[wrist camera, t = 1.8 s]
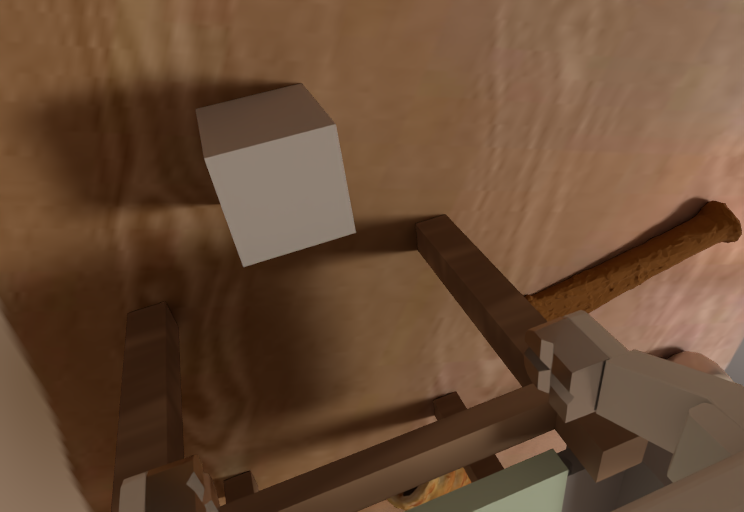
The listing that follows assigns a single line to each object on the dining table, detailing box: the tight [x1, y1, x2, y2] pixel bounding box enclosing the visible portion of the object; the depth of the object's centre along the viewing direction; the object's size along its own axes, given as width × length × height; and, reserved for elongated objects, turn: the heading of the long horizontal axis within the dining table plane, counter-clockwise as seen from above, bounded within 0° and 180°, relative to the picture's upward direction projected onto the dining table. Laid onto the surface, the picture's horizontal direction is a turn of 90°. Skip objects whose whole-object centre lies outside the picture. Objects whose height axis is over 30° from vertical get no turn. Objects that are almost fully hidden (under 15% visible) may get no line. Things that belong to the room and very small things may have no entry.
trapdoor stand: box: [111, 214, 648, 512], centre depth 28 cm, size 19×19×16 cm
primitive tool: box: [525, 201, 742, 322], centre depth 38 cm, size 19×6×4 cm, turn 117°
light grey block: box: [196, 83, 356, 267], centre depth 23 cm, size 5×5×6 cm
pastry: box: [387, 467, 471, 511], centre depth 45 cm, size 9×7×4 cm
